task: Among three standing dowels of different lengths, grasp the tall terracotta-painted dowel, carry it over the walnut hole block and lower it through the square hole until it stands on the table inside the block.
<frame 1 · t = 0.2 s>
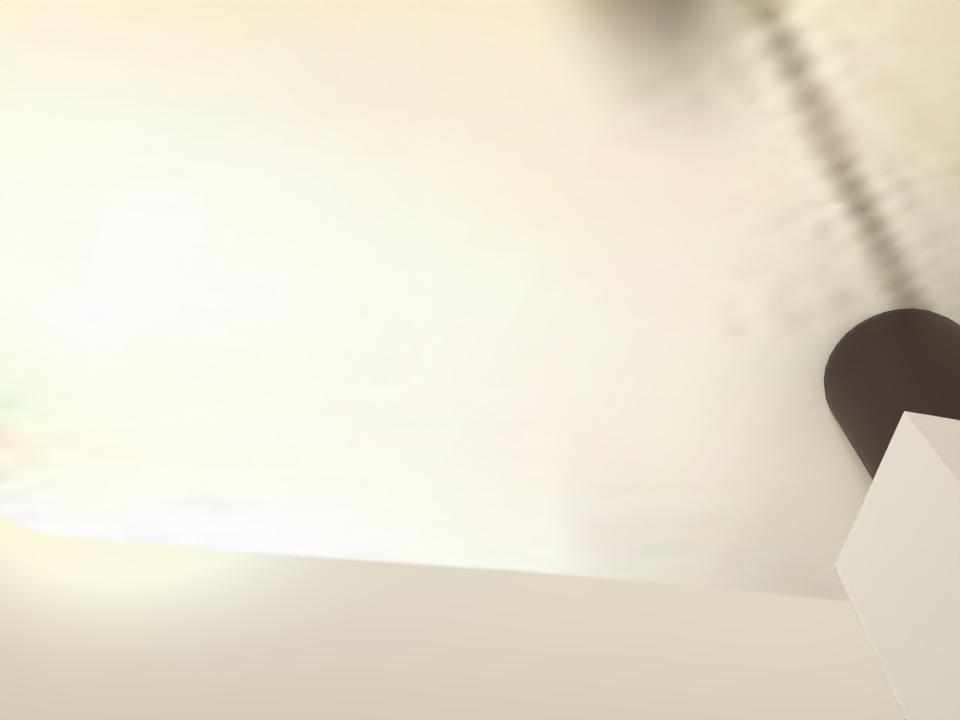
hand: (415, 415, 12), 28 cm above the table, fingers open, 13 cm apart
wine bottle: (892, 368, 41), on the table
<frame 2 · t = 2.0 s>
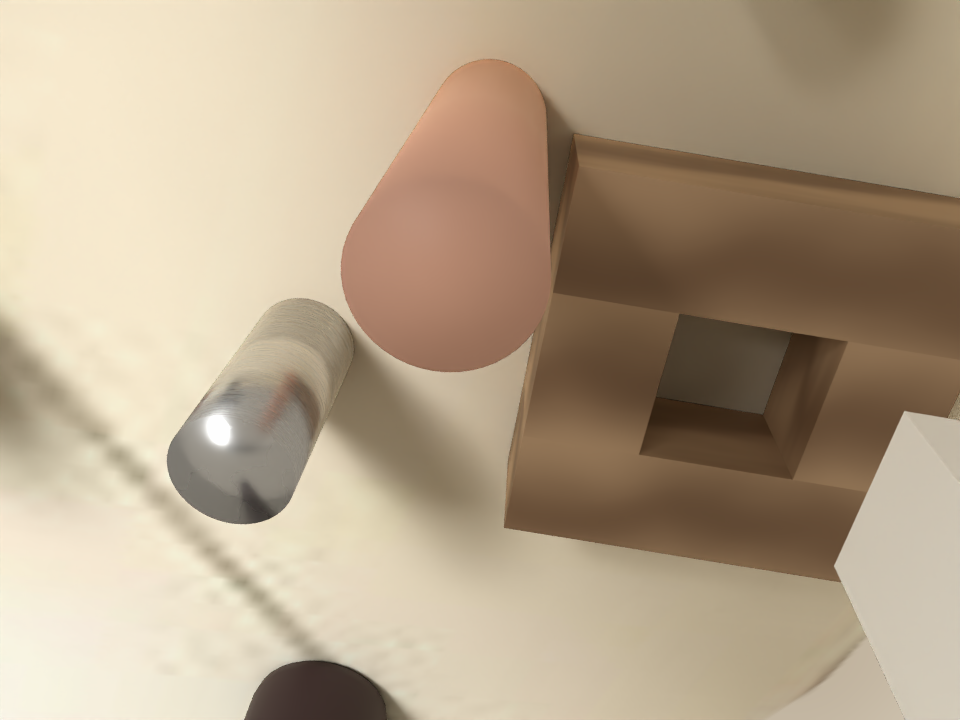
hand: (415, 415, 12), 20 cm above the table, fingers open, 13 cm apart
hole block: (714, 342, 32), on the table
long pin: (489, 119, 29), on the table
medium pin: (305, 343, 34), on the table
wine bottle: (323, 702, 44), on the table
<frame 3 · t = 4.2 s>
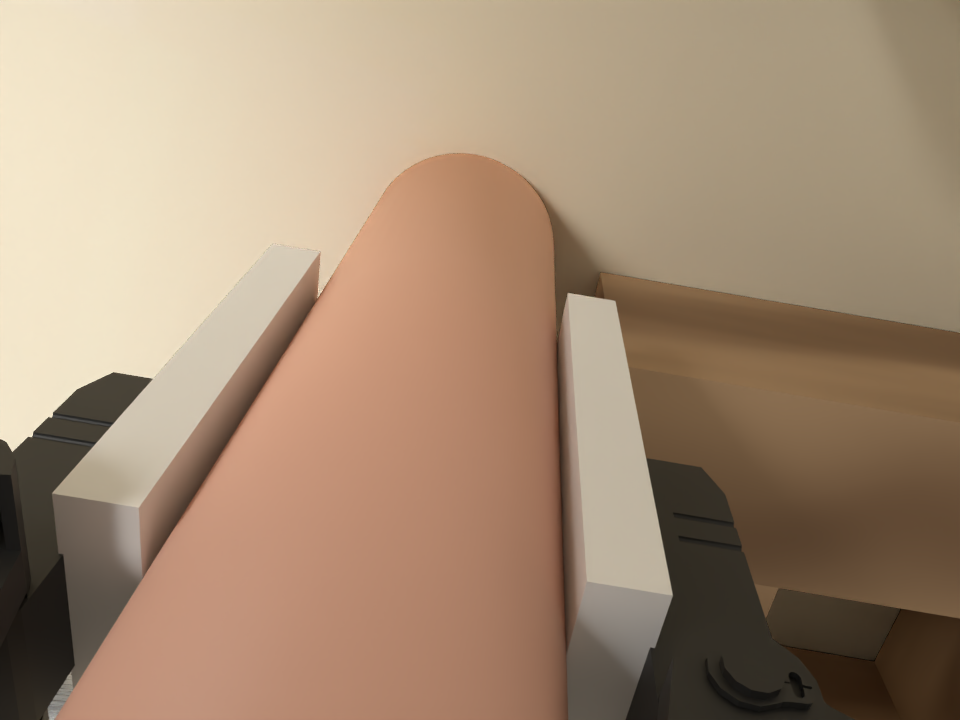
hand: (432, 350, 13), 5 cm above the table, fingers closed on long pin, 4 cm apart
hole block: (807, 566, 22), on the table
long pin: (461, 245, 18), on the table, touching gripper
medium pin: (199, 554, 23), on the table
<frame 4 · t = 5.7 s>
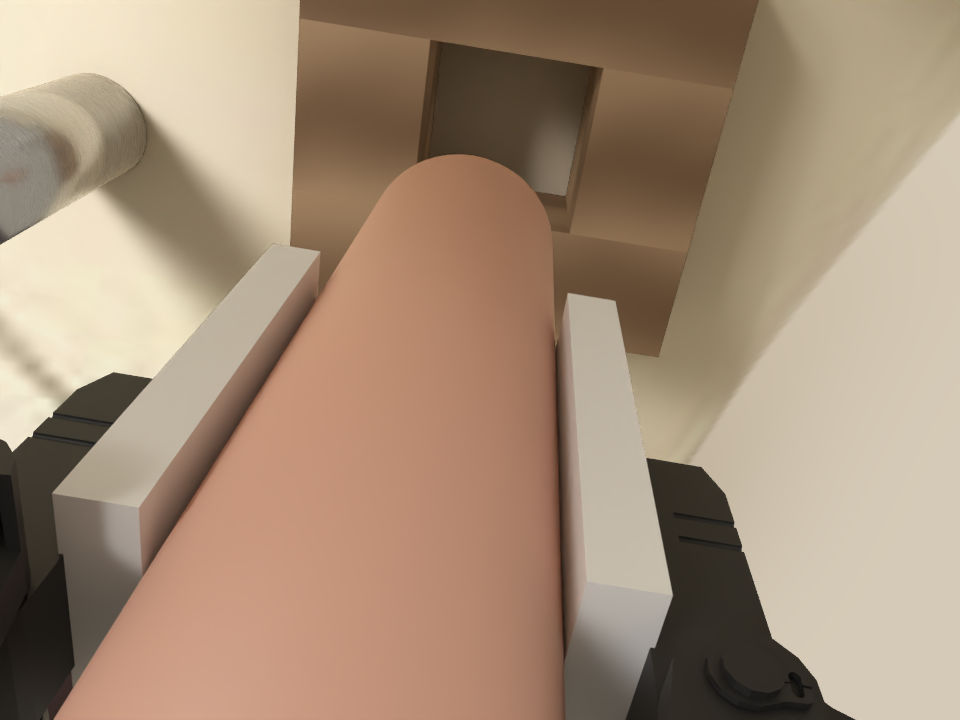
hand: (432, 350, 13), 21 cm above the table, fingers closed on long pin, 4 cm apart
hole block: (507, 114, 32), on the table
long pin: (460, 246, 18), point 15 cm above the table, touching gripper
medium pin: (96, 125, 33), on the table
wine bottle: (166, 538, 43), on the table
when the fingers open (7 cm above the table, at t = 7.7 s): long pin drops 1 cm, resting in hole block.
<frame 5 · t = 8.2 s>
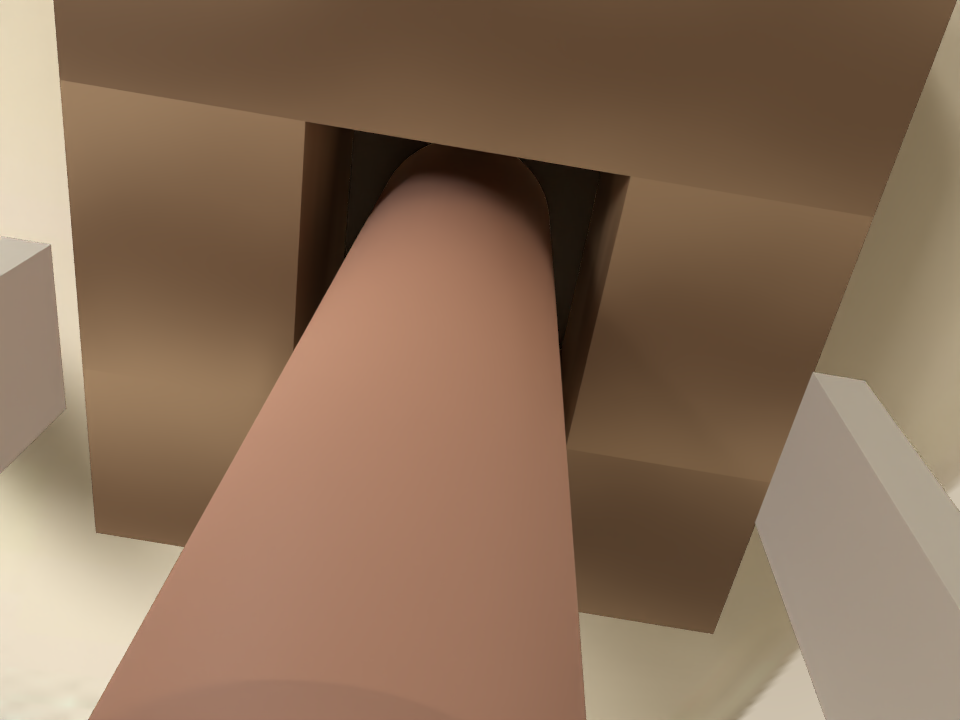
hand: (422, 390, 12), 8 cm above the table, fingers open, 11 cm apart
hole block: (466, 224, 19), on the table
long pin: (463, 225, 19), resting in hole block
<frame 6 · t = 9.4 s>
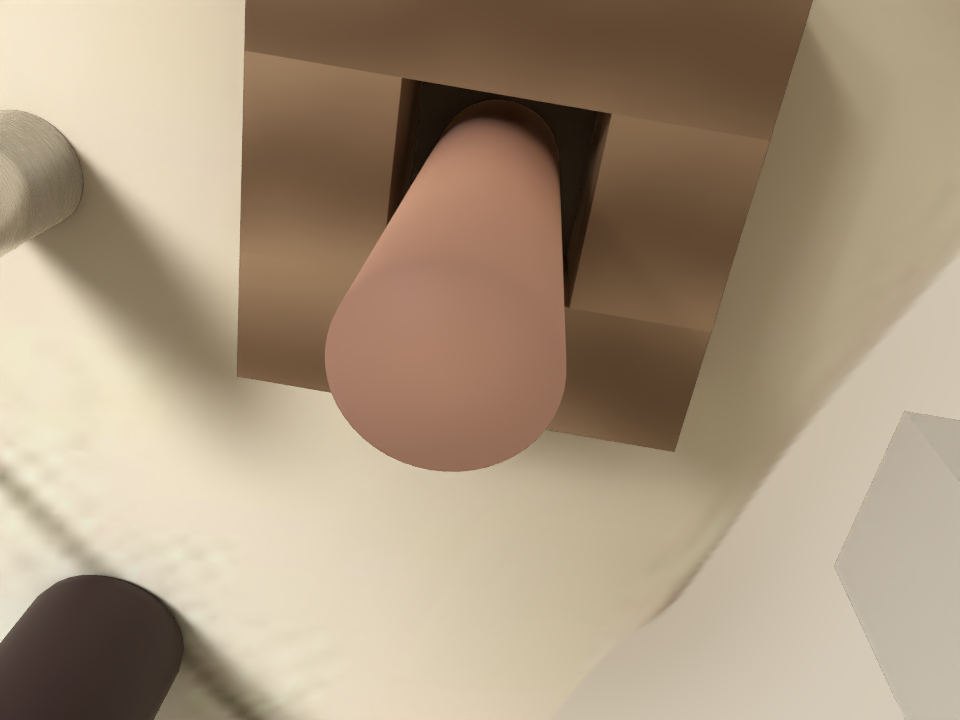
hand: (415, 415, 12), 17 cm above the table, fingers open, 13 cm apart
hole block: (499, 162, 27), on the table
long pin: (497, 162, 27), resting in hole block
medium pin: (25, 169, 28), on the table
wine bottle: (113, 627, 38), on the table
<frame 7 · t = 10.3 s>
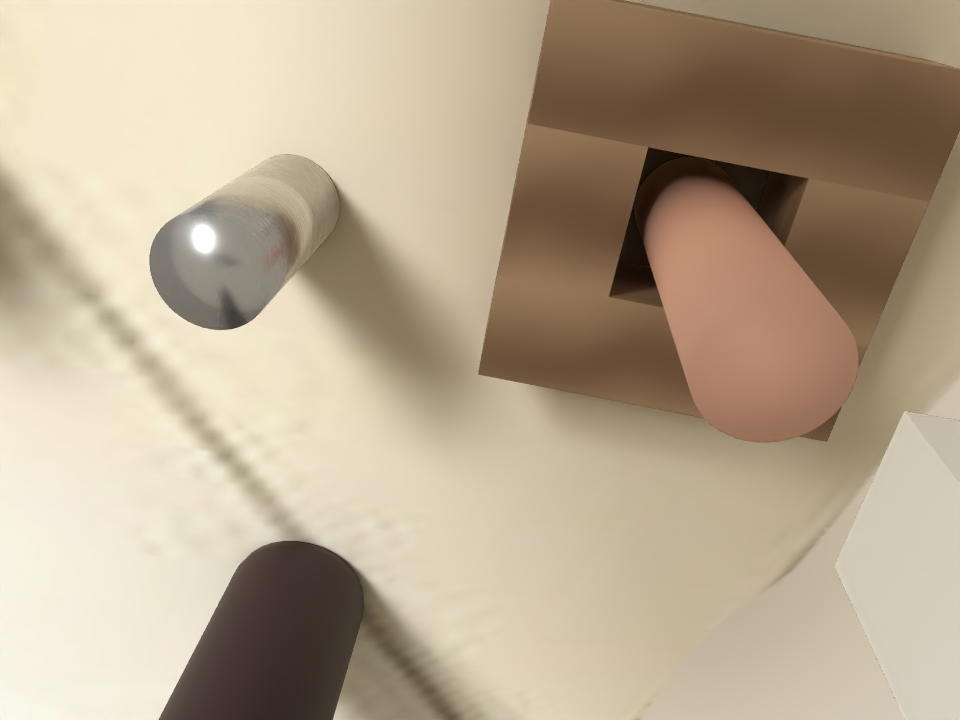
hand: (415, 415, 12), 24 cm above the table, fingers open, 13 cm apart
hole block: (686, 206, 34), on the table
long pin: (684, 206, 34), resting in hole block
medium pin: (292, 202, 35), on the table
wine bottle: (302, 587, 44), on the table
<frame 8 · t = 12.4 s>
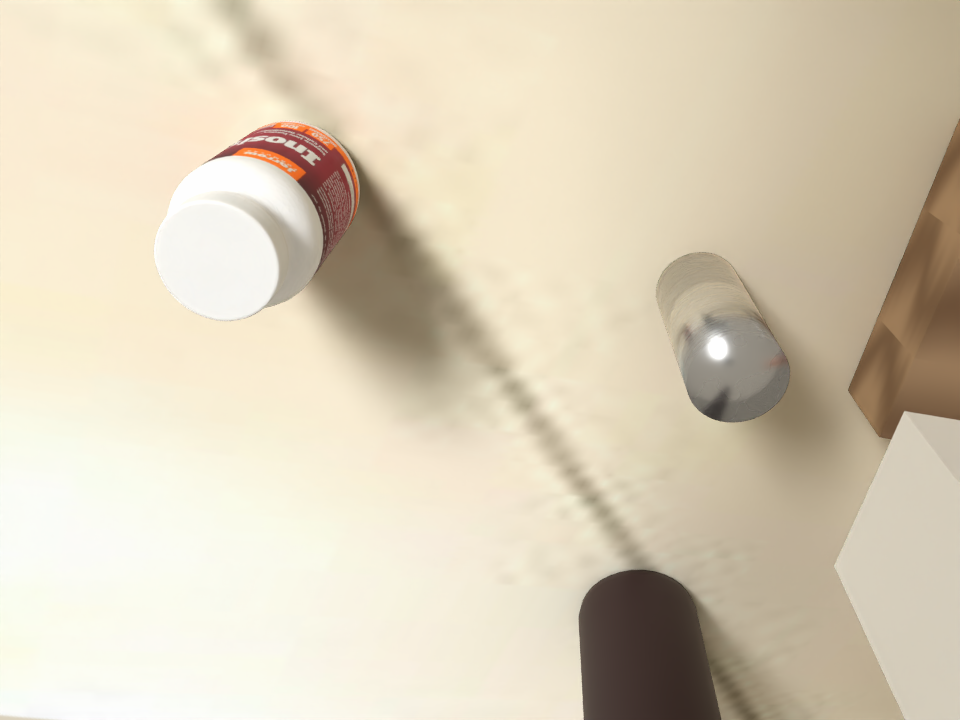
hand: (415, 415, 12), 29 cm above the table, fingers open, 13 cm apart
pill bottle: (299, 182, 40), on the table
medium pin: (697, 290, 41), on the table
wine bottle: (636, 608, 51), on the table
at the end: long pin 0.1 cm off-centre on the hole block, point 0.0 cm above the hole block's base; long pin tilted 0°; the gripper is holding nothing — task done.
